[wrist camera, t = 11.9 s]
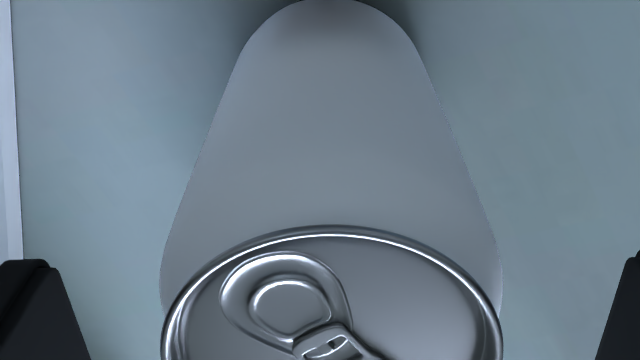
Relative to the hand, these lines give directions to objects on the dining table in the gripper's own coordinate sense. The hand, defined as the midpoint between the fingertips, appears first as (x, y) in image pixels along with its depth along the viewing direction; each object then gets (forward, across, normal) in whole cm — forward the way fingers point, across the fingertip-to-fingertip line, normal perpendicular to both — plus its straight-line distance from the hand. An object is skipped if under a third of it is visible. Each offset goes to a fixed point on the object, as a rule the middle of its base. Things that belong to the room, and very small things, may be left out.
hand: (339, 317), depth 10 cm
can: (+12, 0, +1) cm, 12 cm away
